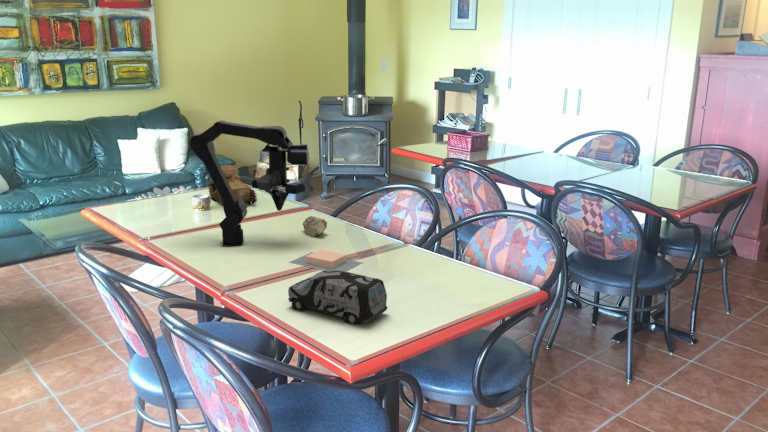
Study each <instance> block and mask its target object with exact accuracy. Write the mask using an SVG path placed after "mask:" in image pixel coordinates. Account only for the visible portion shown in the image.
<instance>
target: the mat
mask: <svg viewBox="0 0 768 432" xmlns="http://www.w3.org/2000/svg"><path fill="white" fill-rule="evenodd" d="M312 253H314V252H309V253H307V254H304V255H302V256H299V257H298V258H296V259H293V260H291V261H288V263H289V264H293V265H299V266H303V267H306V268H307V267H308V268H312V269H317V270H320V271H324V270H326V269H330V268H325V267H320V266H316V265H311V264H307V263H306V256H307V255H310V254H312ZM362 264H363V262H361V261H356V260H352V259H347V262H345V263H343V264H341V265H339V266H337V267H335V268H333V269H335V270H340V271H345V272H349V271H350V270H352V269H354V268H356V267H359V266H360V265H362Z"/></svg>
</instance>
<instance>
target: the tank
mask: <svg viewBox="0 0 768 432" xmlns="http://www.w3.org/2000/svg"><path fill="white" fill-rule="evenodd" d="M220 166H221V168H222V170H223V172H224V174H225V176H226V178H227V180H228V182H229V184H230V187H231V189H232V191H233V193H234V194H235V195H236V196H237V197H238V198H241V197H243V200H244V203H245V204H247V205H254V204H256V203H257V202H258V201H257V200H258V198H257V197H258V196H257V192H256V190H254V189H252V186H251V185H249V184H247V183H245V182H243V181H242V180H241V178H242V177H241V176H240V175H238V174H236V165H231V164H229V165H228V164H227V165H226V164H225V165H220ZM209 182H211V183H209V184H208V194H209V196H210V197H209V198H210V199H211V200H212V201H214V200H216V201H218V202H219V203H221V206H222V205H223V201H222V199H221V197H220V195H219V193H218V191H217V189H216V187H215V185H214V183H213V181H212V179H211V177H210V176H209ZM216 201H215V202H216ZM219 203H218V204H219Z"/></svg>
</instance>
